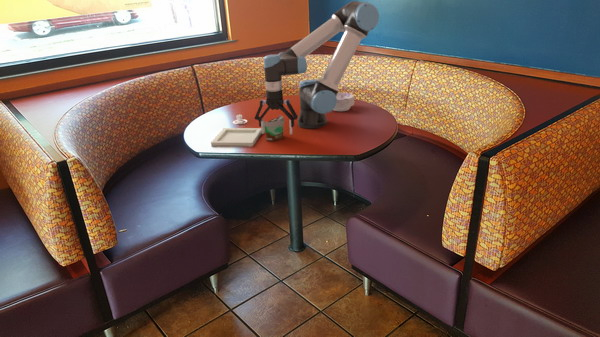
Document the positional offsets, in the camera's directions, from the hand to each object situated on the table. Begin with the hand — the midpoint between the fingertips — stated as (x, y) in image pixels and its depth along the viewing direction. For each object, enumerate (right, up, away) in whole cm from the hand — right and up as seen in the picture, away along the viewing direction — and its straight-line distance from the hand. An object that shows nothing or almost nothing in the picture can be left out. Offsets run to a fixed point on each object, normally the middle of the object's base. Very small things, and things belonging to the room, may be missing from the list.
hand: (277, 133), depth 215 cm
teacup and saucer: (-24, +7, +27) cm, 37 cm away
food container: (0, -3, +1) cm, 3 cm away
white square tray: (-19, -2, +4) cm, 20 cm away
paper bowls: (+34, +17, +40) cm, 55 cm away
